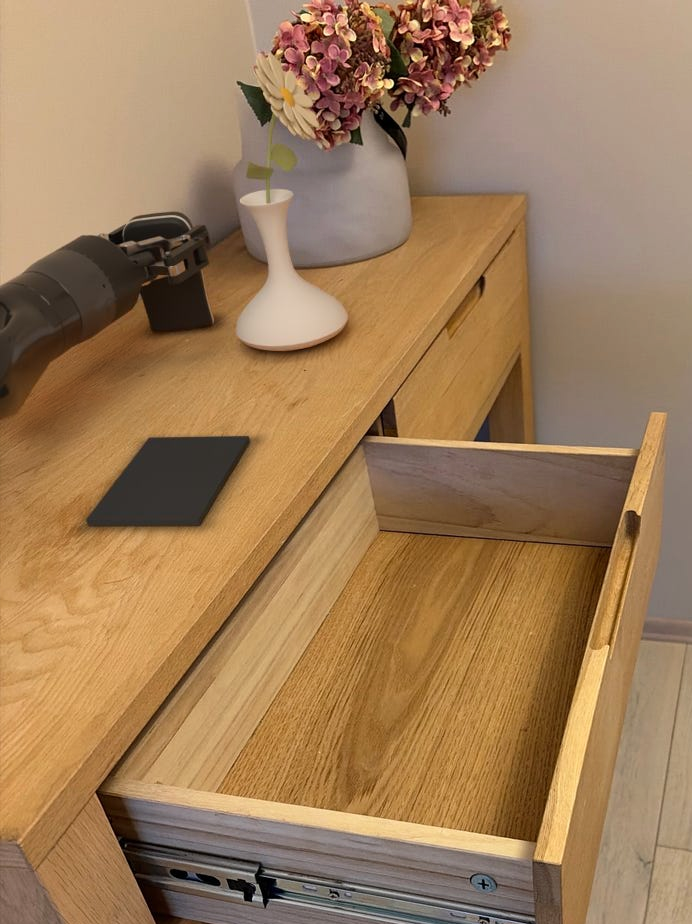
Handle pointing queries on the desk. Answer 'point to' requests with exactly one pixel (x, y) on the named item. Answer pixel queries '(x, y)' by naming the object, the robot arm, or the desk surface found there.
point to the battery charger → (160, 298)
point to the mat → (170, 482)
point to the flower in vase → (284, 235)
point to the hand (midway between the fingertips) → (168, 234)
